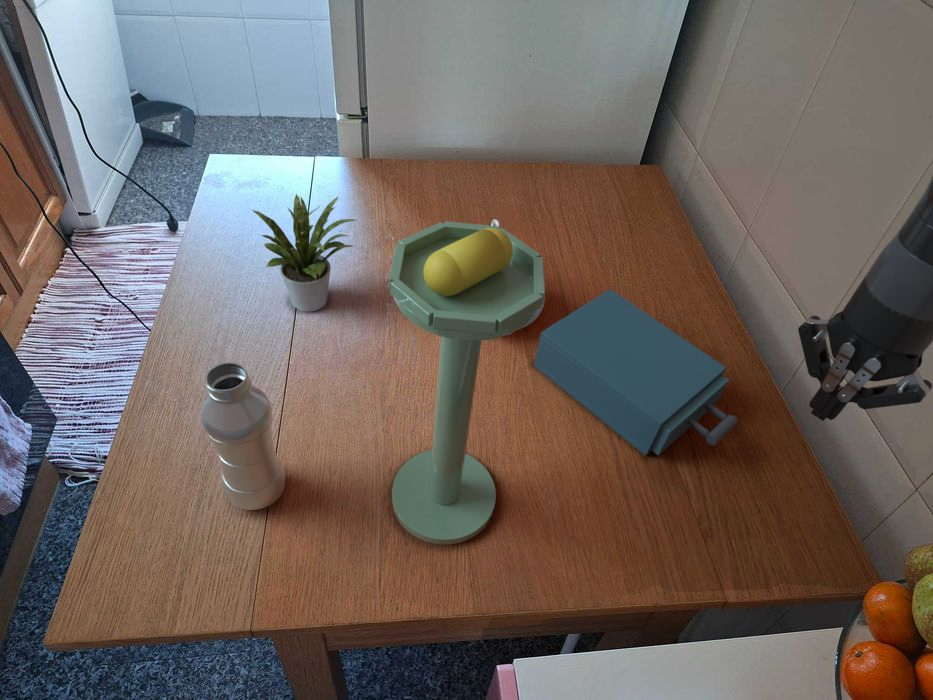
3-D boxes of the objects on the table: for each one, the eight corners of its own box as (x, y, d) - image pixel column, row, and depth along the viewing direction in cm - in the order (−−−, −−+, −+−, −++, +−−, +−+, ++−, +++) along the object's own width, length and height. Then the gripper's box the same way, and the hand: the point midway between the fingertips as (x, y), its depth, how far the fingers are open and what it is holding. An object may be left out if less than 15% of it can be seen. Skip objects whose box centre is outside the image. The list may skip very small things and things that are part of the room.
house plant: (382, 312, 96) (381, 221, 84) (298, 350, 90) (284, 256, 78) (332, 262, 103) (325, 171, 92) (251, 293, 97) (232, 199, 85)
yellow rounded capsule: (485, 238, 54) (501, 212, 51) (511, 271, 54) (528, 246, 51) (408, 275, 50) (421, 249, 47) (436, 311, 50) (450, 287, 46)
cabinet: (708, 400, 89) (726, 367, 85) (645, 456, 82) (661, 423, 77) (599, 322, 99) (609, 288, 94) (533, 365, 91) (541, 331, 86)
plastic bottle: (228, 471, 75) (190, 354, 61) (288, 465, 77) (265, 348, 62) (225, 521, 71) (183, 407, 57) (288, 513, 72) (263, 400, 58)
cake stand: (515, 503, 76) (575, 277, 51) (438, 566, 69) (463, 343, 45) (448, 438, 81) (472, 207, 57) (371, 491, 75) (360, 257, 51)
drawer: (744, 423, 86) (759, 400, 82) (687, 478, 79) (700, 456, 75) (610, 327, 97) (618, 303, 93) (549, 369, 90) (556, 344, 86)
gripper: (822, 267, 58) (748, 393, 70) (976, 350, 52) (865, 473, 64) (858, 238, 62) (782, 362, 74) (1006, 312, 55) (895, 435, 68)
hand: (820, 413), depth 69 cm, fingers closed
